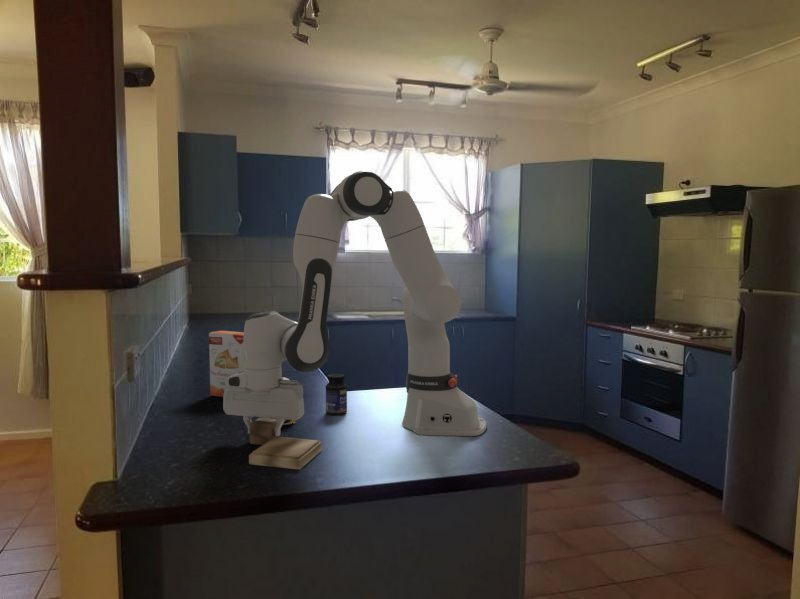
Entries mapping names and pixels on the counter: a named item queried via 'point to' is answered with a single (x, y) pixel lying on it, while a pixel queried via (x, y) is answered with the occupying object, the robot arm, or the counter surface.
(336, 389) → the pill bottle
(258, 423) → the cube
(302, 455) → the square wooden base
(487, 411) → the counter surface
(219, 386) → the cracker box
